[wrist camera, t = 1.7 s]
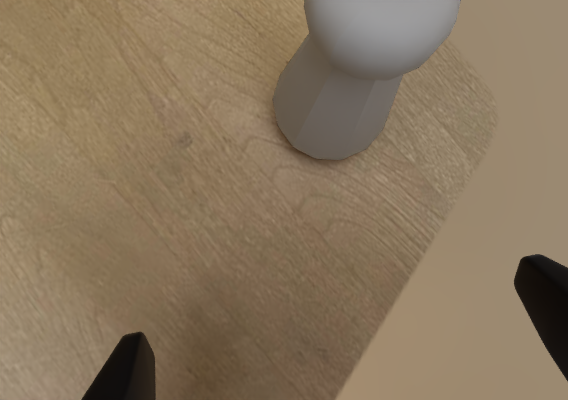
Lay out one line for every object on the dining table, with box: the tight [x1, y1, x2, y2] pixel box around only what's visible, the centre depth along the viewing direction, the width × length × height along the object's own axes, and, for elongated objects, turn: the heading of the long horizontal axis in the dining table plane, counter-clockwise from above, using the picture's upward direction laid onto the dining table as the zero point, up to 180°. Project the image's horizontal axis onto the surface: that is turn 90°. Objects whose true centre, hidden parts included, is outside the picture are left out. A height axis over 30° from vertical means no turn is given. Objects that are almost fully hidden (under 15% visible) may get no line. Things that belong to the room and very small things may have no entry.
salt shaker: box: [273, 0, 461, 160], centre depth 17 cm, size 6×6×13 cm
